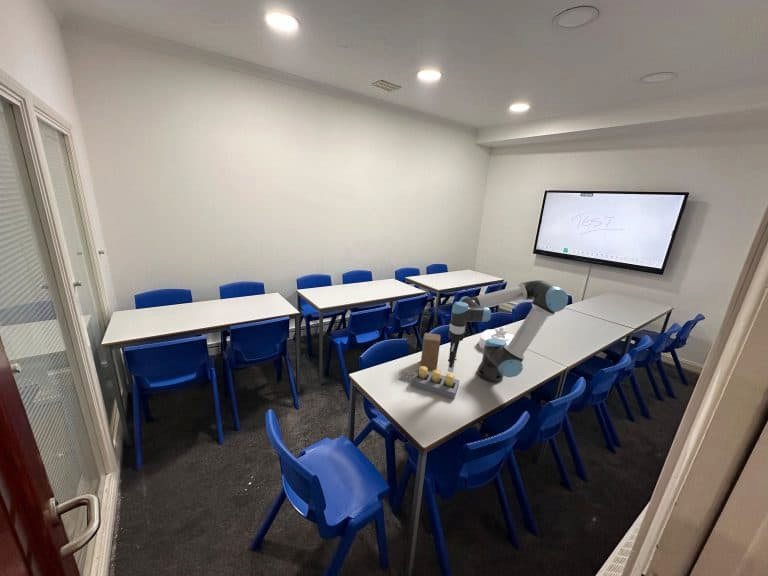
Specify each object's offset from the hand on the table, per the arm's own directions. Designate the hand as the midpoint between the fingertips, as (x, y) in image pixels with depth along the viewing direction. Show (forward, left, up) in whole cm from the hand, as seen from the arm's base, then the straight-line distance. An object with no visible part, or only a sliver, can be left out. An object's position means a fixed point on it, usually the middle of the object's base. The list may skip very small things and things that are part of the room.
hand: (450, 371), depth 160 cm
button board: (+7, 0, -12) cm, 14 cm away
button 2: (+7, 0, -8) cm, 11 cm away
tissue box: (-22, -70, -12) cm, 74 cm away
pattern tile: (+24, 0, -12) cm, 27 cm away
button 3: (+15, 0, -8) cm, 17 cm away
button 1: (0, 0, -8) cm, 8 cm away
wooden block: (+16, -20, -12) cm, 28 cm away
